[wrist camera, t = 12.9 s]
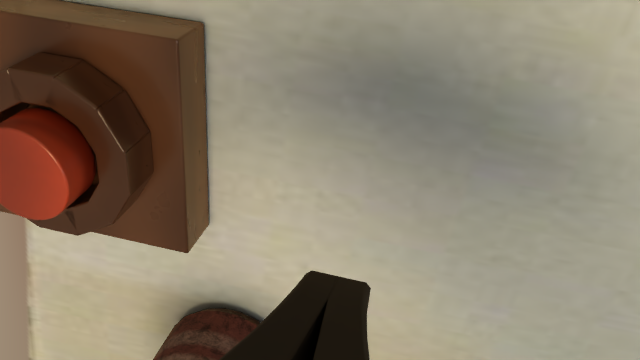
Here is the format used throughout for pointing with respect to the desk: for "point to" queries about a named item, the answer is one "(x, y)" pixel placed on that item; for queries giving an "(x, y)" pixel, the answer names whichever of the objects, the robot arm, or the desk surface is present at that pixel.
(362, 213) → the desk surface
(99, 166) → the button block
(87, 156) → the button
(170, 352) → the can
